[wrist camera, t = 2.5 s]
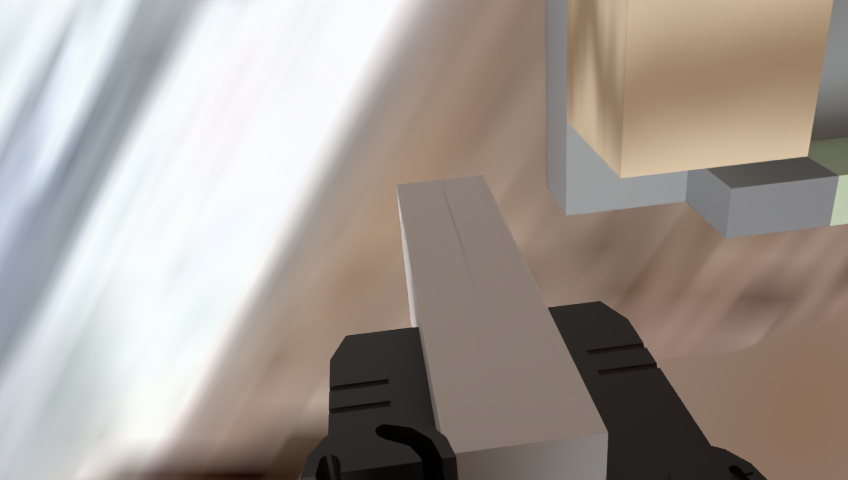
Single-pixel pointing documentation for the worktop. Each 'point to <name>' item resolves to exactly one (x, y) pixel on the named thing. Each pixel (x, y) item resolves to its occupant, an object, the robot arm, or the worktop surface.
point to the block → (694, 80)
